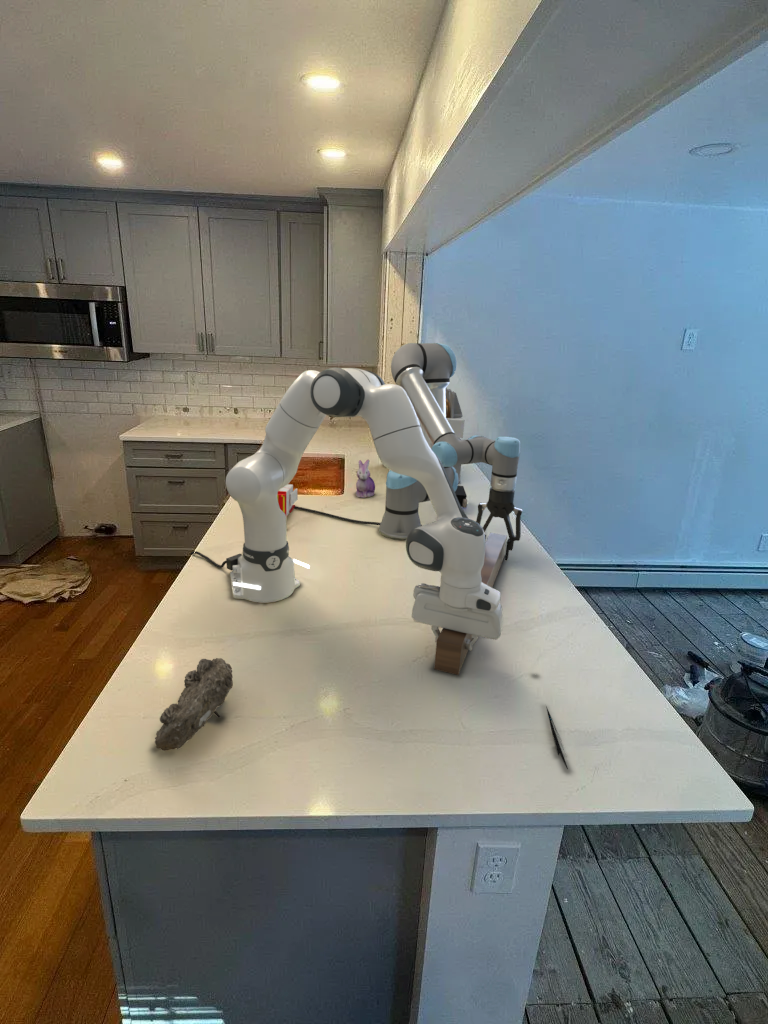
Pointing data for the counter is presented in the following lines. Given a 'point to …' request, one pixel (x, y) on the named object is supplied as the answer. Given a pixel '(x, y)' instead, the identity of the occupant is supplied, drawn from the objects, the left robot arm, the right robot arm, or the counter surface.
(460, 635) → the bar
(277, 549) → the left robot arm
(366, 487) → the figurine
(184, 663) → the counter surface
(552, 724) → the feather
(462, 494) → the figurine character
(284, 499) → the toy
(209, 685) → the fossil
